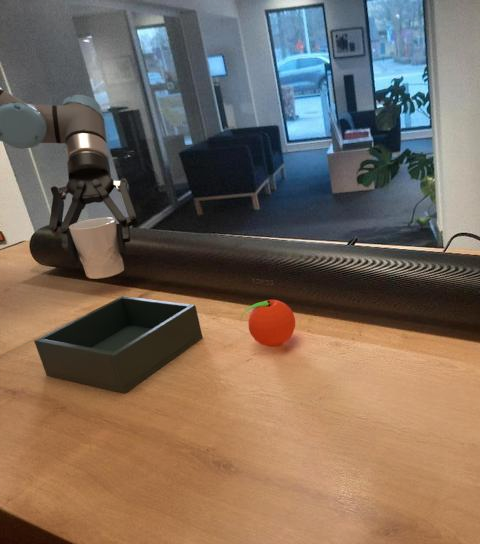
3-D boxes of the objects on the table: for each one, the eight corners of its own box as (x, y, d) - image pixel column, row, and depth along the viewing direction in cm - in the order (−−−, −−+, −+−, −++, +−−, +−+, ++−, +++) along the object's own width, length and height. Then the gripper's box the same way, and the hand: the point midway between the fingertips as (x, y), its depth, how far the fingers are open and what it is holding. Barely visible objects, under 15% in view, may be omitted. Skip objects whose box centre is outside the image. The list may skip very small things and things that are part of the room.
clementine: (242, 358, 72) (233, 314, 69) (248, 336, 78) (240, 295, 75) (297, 352, 72) (291, 308, 69) (298, 330, 78) (292, 289, 76)
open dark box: (46, 375, 72) (33, 340, 69) (130, 326, 85) (122, 295, 83) (125, 393, 66) (113, 355, 63) (203, 337, 79) (195, 304, 77)
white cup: (126, 275, 94) (113, 224, 90) (80, 283, 91) (65, 231, 88) (128, 262, 101) (116, 215, 97) (86, 270, 98) (71, 221, 95)
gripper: (146, 167, 107) (160, 259, 98) (38, 180, 101) (44, 279, 92) (138, 144, 100) (154, 241, 92) (23, 156, 94) (27, 261, 85)
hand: (99, 260), depth 92 cm, fingers closed on white cup, 8 cm apart
